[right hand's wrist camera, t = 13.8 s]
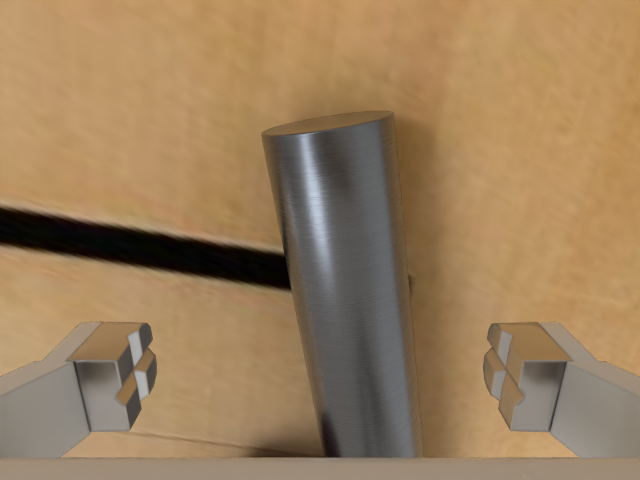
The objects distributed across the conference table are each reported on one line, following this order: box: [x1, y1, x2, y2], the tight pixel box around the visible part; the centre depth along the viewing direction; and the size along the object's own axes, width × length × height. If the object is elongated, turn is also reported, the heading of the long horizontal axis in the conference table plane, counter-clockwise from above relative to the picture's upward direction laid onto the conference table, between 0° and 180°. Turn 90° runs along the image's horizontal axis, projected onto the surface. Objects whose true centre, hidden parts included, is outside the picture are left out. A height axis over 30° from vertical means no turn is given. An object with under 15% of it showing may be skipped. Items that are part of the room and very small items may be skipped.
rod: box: [261, 111, 424, 458], centre depth 25 cm, size 27×6×6 cm
